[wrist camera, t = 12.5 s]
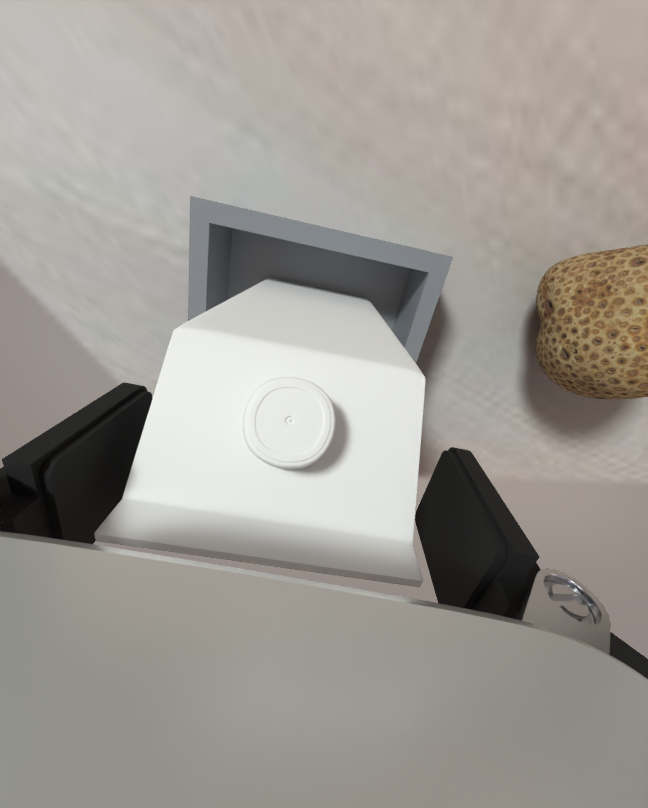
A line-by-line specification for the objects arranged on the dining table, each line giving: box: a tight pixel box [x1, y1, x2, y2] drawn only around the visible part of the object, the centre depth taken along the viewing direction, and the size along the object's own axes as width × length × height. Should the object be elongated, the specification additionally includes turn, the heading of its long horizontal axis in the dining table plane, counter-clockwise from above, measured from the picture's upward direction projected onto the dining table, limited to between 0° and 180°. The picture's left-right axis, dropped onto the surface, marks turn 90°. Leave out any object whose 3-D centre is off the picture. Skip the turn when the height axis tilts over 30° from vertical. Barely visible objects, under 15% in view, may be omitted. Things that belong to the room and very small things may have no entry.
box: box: [188, 196, 453, 363], centre depth 22 cm, size 14×14×5 cm
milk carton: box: [94, 278, 425, 587], centre depth 15 cm, size 7×7×19 cm
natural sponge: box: [536, 244, 648, 399], centre depth 19 cm, size 9×9×10 cm
